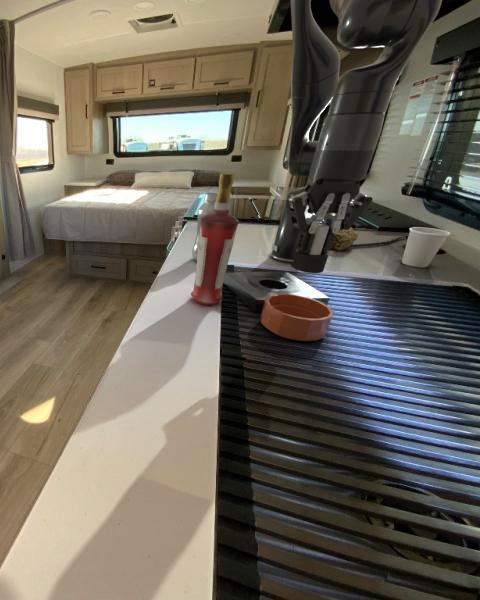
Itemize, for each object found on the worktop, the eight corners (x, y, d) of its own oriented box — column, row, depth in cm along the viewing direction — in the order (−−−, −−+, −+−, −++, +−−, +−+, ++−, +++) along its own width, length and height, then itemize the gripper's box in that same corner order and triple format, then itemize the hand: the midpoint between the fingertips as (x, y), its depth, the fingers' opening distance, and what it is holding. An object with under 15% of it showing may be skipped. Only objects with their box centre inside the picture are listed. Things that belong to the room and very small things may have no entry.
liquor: (190, 292, 82) (209, 171, 69) (222, 297, 79) (247, 172, 67) (187, 304, 76) (206, 174, 63) (221, 310, 73) (248, 175, 61)
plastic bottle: (215, 264, 99) (227, 195, 90) (191, 263, 101) (201, 195, 92) (211, 257, 105) (223, 192, 96) (189, 256, 106) (198, 191, 97)
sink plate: (283, 281, 87) (286, 271, 86) (325, 310, 73) (329, 297, 71) (223, 283, 87) (225, 272, 85) (253, 311, 72) (256, 299, 71)
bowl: (300, 313, 71) (307, 292, 69) (339, 342, 61) (348, 319, 59) (249, 315, 71) (254, 294, 69) (279, 344, 61) (286, 320, 59)
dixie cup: (441, 269, 93) (459, 235, 89) (407, 268, 95) (422, 233, 90) (420, 260, 101) (436, 227, 96) (389, 258, 102) (402, 226, 98)
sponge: (350, 257, 107) (364, 233, 118) (352, 234, 104) (366, 212, 115) (303, 255, 117) (320, 233, 128) (303, 234, 114) (320, 213, 124)
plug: (311, 263, 63) (324, 221, 60) (329, 273, 59) (345, 228, 55) (285, 264, 63) (297, 222, 60) (302, 273, 59) (316, 228, 55)
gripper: (317, 148, 49) (286, 260, 56) (410, 147, 49) (366, 259, 56) (287, 147, 55) (263, 247, 63) (368, 146, 56) (334, 246, 63)
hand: (312, 252), depth 60 cm, fingers closed on plug, 2 cm apart
